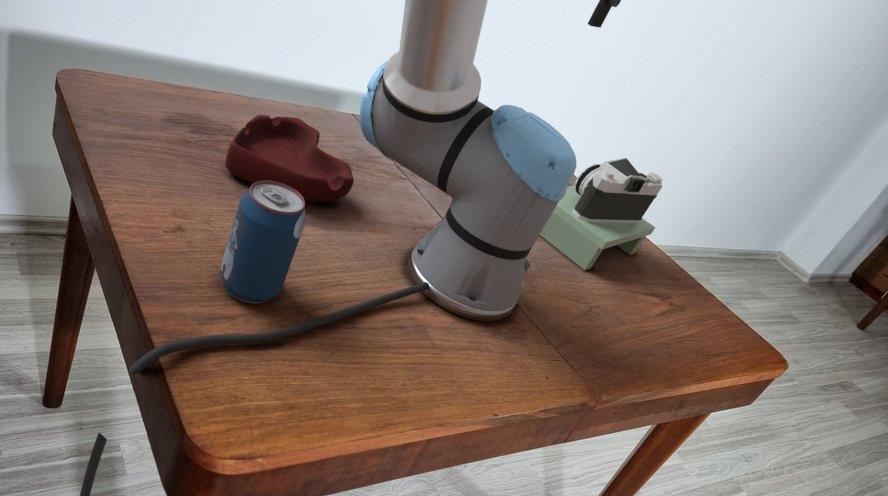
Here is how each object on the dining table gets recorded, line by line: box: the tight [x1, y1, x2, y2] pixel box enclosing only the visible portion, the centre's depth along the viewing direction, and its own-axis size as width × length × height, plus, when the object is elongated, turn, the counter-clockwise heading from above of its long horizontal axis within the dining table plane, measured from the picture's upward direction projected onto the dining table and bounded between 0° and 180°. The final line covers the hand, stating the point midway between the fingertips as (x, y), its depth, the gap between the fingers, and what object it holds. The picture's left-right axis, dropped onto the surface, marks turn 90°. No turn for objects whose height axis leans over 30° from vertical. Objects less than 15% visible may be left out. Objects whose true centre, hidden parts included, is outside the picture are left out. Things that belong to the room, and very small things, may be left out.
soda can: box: [219, 181, 307, 305], centre depth 75 cm, size 7×7×12 cm
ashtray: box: [224, 114, 355, 206], centre depth 98 cm, size 18×16×5 cm
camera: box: [572, 157, 663, 223], centre depth 115 cm, size 16×9×10 cm, turn 120°
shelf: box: [539, 185, 656, 271], centre depth 119 cm, size 18×14×6 cm
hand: (558, 5), depth 105 cm, fingers open, 13 cm apart
